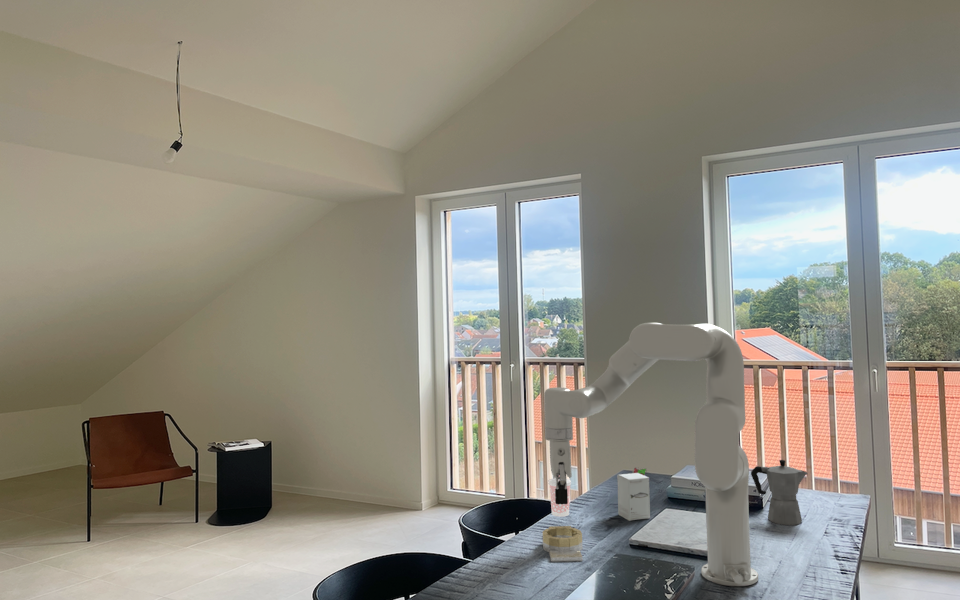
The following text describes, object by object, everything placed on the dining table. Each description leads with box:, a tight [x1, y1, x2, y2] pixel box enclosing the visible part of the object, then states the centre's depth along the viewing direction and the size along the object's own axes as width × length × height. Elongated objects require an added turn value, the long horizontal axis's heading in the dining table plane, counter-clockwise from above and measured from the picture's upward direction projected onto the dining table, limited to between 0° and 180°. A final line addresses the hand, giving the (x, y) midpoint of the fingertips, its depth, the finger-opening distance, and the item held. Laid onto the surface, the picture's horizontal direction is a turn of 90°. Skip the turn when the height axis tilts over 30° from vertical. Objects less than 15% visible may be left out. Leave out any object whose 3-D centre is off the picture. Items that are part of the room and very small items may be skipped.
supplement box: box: [616, 473, 651, 522], centre depth 204 cm, size 7×7×13 cm
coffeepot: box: [750, 459, 808, 526], centre depth 197 cm, size 15×9×18 cm, turn 67°
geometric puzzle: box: [630, 467, 651, 480], centre depth 240 cm, size 7×7×8 cm
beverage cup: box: [548, 475, 572, 518], centre depth 179 cm, size 6×6×14 cm
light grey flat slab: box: [542, 535, 584, 563], centre depth 176 cm, size 15×10×2 cm
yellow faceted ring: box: [542, 525, 583, 547], centre depth 181 cm, size 15×10×4 cm
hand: (560, 499), depth 179 cm, fingers closed on beverage cup, 6 cm apart
